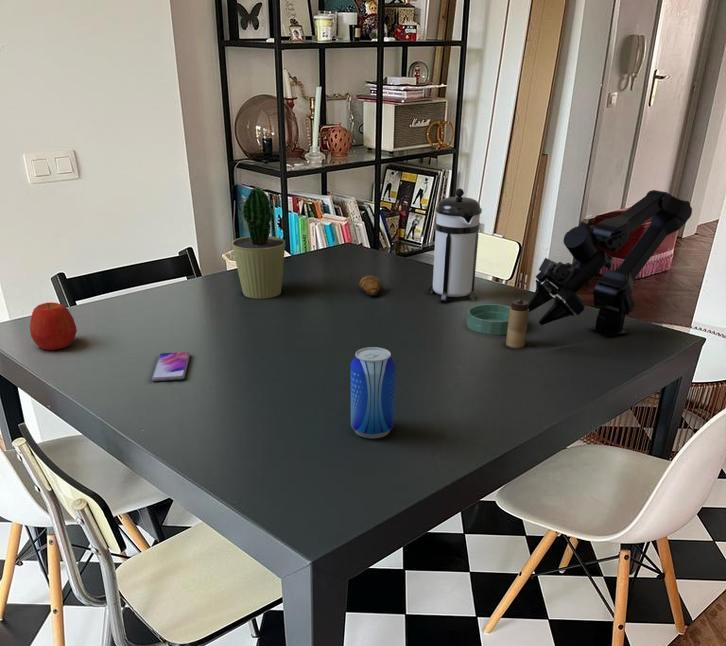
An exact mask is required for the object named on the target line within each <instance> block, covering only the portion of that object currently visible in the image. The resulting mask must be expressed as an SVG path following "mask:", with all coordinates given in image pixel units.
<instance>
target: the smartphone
mask: <svg viewBox="0 0 726 646" xmlns="http://www.w3.org/2000/svg"><path fill="white" fill-rule="evenodd" d="M190 356H191V353H190V352H189V351H176V352H161V353H159V355H158V358H157V361H156V364H155V366H154V370H153V373H152V376H151V381H153V382H159V381H175V380H183V379H185V377H186V373H187V368H188V364H189V361H190Z"/></svg>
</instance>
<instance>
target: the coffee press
mask: <svg viewBox="0 0 726 646" xmlns="http://www.w3.org/2000/svg"><path fill="white" fill-rule="evenodd" d="M464 194H465V192H464V190H463V188H457V189H456V190H455V195H456V196H449V197H444V198H442V199H441V200H440V201H439V202H438V204H437V206H436V207H435V209H434V211H435V213H436V215H435V216H436V218H435V221H434V230H435V234H434V235H435V236H434V253H433V254H434V255H433V270H432V271H433V273H432V284H431V286H430V287H429V289H428V293H429V294H430V295H431V294H432V295H433V294H434V293H436V294H438V295H439V296H441V298H440V303H443V304H447V302H448V299H449V298H450V297H451V298H458V297H459V298H460V297H465V296H466V297H468V298H470V300H471V301H475V300H477V299H478V295H477V293H476V291H475V281H476V271H477V269H476V268H477V257H478V245H479V231H480V229H481V222H480V220H481V214H482V213H483V209H482V207H481V204H480V203H479V202H478V200H476V199H474V198H471V197H466V196H464ZM432 290H433V291H432ZM472 294H473V295H474V297H473V296H472Z"/></svg>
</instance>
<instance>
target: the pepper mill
mask: <svg viewBox="0 0 726 646" xmlns="http://www.w3.org/2000/svg"><path fill="white" fill-rule="evenodd" d="M528 305H529V301H527V300H525V299H524V300H523V299H521V298H519V299H514V300H512V301H511V306H510V307H511V308H510V312H509V321H508V329H507V334H506V340H505V345H506V346H507V347H510V348H516V349H517V348H519V349H520V348H523V347H525V345H526V338H527V337H526V336H527V330H528V322H529V313H530V312H529V309H528Z"/></svg>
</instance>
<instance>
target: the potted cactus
mask: <svg viewBox="0 0 726 646" xmlns="http://www.w3.org/2000/svg"><path fill="white" fill-rule="evenodd" d="M249 187H250V188H249V189H250V191H249V190H247V193H248V194H247V195H246V199H245V200H243V201H242V203H243V206H241V212H242V219H243V220H244V223H246V225H247V226H245V227H246V228H245V230H246V231H247V230H248V232H247V234H249V236H244V237H243V236H242V237H239V238H236V239H234V240H232V241H231V247H232V251H233V256H234V260H235V264H236V270H237V273H238V278H239V282H240V286H241V291H242V294H243V296H244V297H247V298H249V299H261V300H262V299H263V300H264V299H272V298H276V297H278V296H280V295H281V293H282V286H283V285H282V284H283V275H284V265H285V263H284V262H285V251H286V240H285V239H283V238H281V237H277V236H273V235H272V236H271V233H273V229H271V227H272V225H273V223H274V222H275V221H273V220H274V217H273V211H272V209H271V205H273V204H274V203H272V202H271V198H270V197H271V196H272V194H267V192H266V191H265V190H264V189H262V188H261V187H256V188H255V186H252V188H251V186H249ZM269 198H270V199H269Z"/></svg>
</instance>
